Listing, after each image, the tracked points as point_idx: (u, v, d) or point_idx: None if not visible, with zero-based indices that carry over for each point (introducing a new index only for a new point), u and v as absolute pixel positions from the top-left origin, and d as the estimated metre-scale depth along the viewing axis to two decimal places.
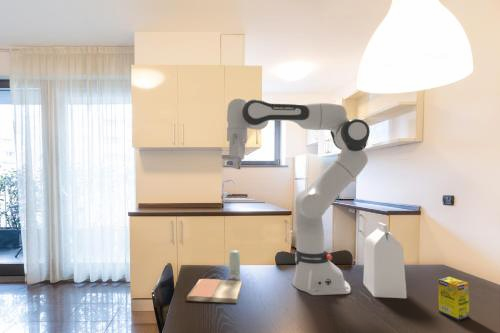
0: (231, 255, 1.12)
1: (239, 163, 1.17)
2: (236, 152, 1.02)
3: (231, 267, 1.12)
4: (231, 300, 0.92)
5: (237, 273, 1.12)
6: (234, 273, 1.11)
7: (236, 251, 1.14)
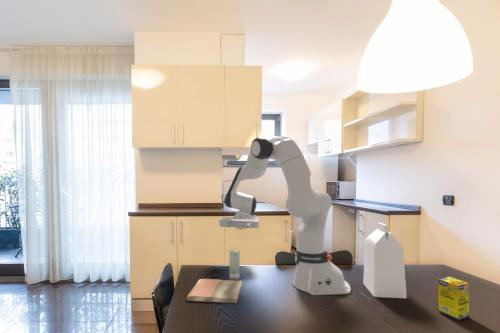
0: (231, 255, 1.12)
1: None
2: (219, 220, 1.32)
3: (231, 267, 1.12)
4: (231, 300, 0.92)
5: (237, 273, 1.11)
6: (234, 273, 1.11)
7: (236, 251, 1.14)
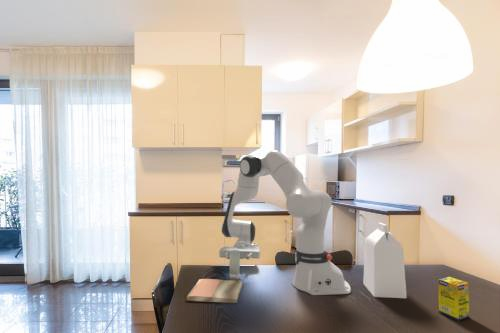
0: (231, 255, 1.12)
1: None
2: (219, 250, 1.29)
3: (231, 267, 1.11)
4: (231, 300, 0.92)
5: (237, 273, 1.11)
6: (234, 273, 1.11)
7: (236, 251, 1.14)
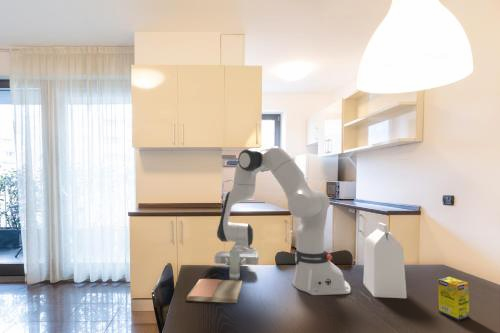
0: (231, 255, 1.12)
1: None
2: (214, 256, 1.19)
3: (231, 267, 1.11)
4: (231, 300, 0.92)
5: (237, 273, 1.12)
6: (234, 273, 1.11)
7: (236, 251, 1.14)
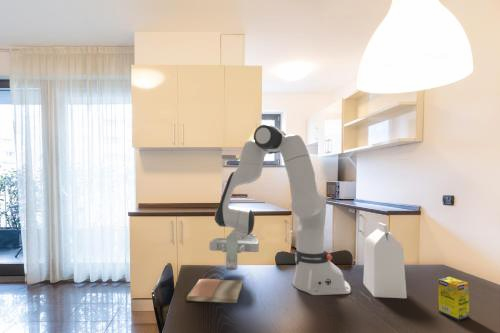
0: (228, 240, 0.99)
1: None
2: None
3: (228, 254, 0.99)
4: (231, 300, 0.92)
5: (235, 261, 0.99)
6: (231, 261, 0.99)
7: (234, 236, 1.01)
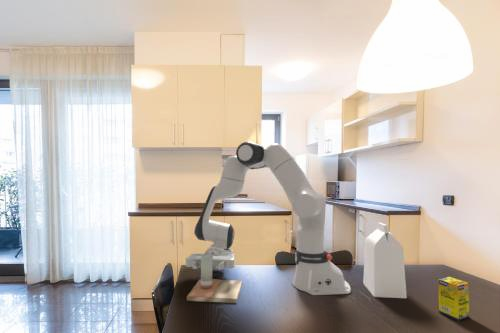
0: (202, 260, 1.00)
1: None
2: None
3: (202, 273, 0.99)
4: (231, 300, 0.92)
5: (209, 280, 0.99)
6: (205, 280, 0.99)
7: (208, 255, 1.01)
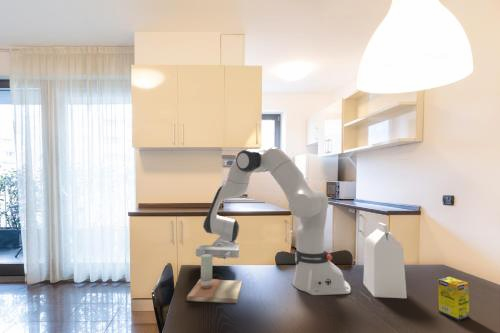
0: (202, 260, 1.00)
1: None
2: None
3: (202, 273, 1.00)
4: (231, 300, 0.92)
5: (209, 280, 1.00)
6: (205, 280, 0.99)
7: (208, 255, 1.02)
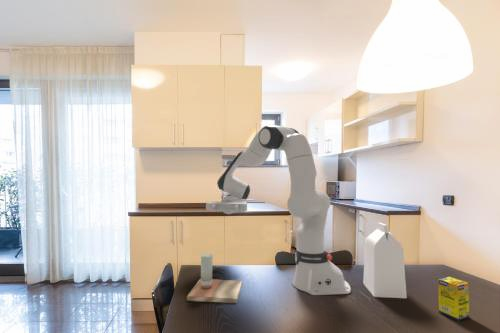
0: (202, 260, 1.00)
1: None
2: None
3: (202, 273, 0.99)
4: (231, 300, 0.92)
5: (209, 280, 0.99)
6: (205, 280, 0.99)
7: (208, 255, 1.02)
